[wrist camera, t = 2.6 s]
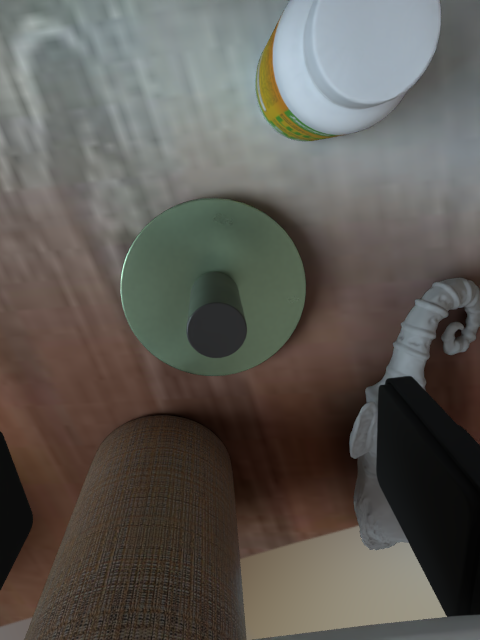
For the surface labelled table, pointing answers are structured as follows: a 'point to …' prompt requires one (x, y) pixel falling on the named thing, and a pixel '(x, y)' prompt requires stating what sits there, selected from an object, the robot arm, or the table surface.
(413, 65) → the supplement bottle
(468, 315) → the seahorse
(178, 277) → the lid
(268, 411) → the table surface
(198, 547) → the planter
